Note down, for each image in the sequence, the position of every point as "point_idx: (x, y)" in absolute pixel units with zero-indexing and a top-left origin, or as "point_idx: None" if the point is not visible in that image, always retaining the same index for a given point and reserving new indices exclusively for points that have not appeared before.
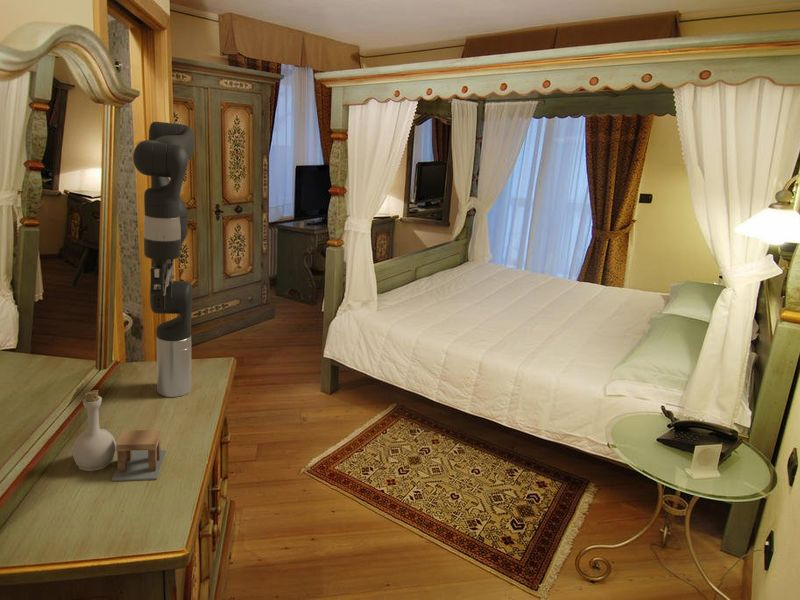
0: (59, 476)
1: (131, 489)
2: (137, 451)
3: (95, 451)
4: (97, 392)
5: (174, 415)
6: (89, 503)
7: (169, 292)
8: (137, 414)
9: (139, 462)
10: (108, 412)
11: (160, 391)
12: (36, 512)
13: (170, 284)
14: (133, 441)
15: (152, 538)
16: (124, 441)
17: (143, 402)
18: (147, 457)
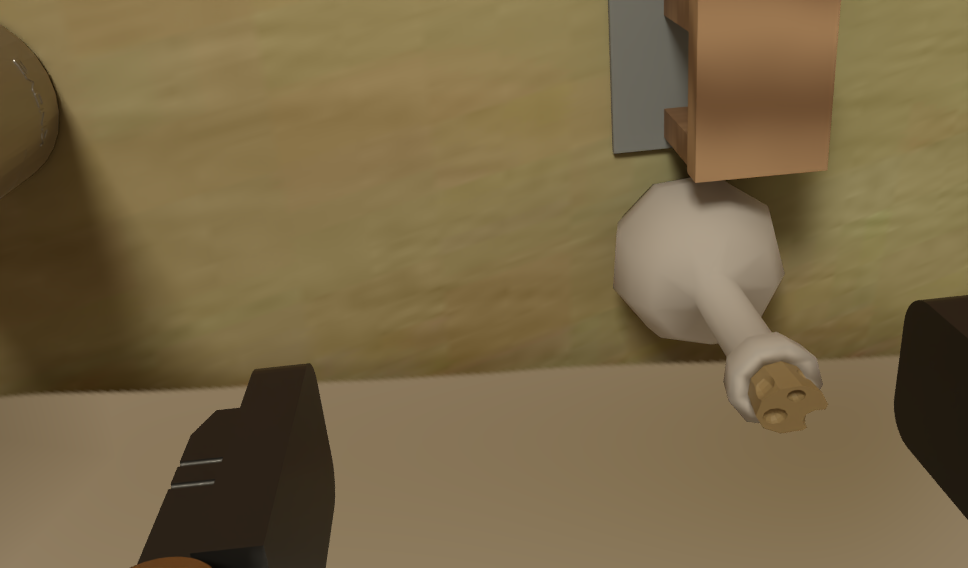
0: (762, 316)
1: (885, 37)
2: (615, 99)
3: (777, 244)
4: (803, 383)
5: (251, 24)
6: (946, 160)
7: (296, 456)
8: (272, 203)
9: None
10: (275, 326)
11: (40, 163)
12: None
13: (229, 566)
14: (803, 103)
15: None
16: (799, 144)
17: (147, 214)
18: (667, 41)
